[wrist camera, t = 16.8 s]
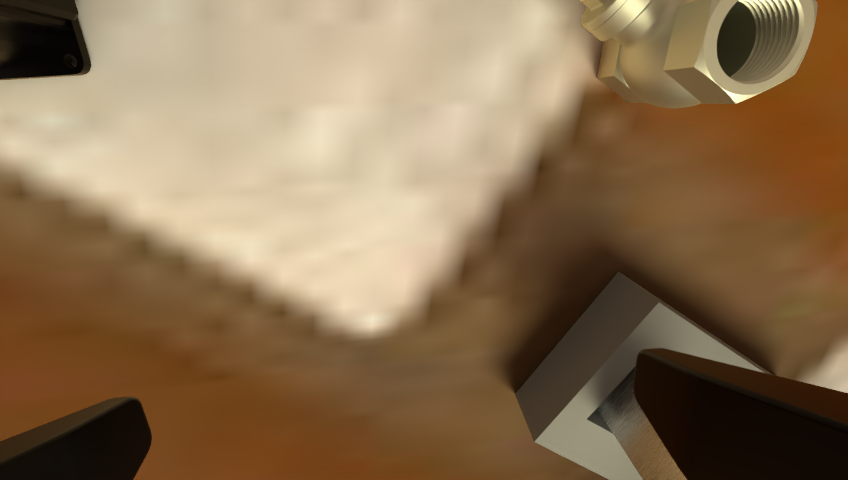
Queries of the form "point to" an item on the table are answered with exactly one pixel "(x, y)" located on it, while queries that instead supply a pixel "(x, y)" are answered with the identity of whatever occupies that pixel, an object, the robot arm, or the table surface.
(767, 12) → the valve
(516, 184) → the table surface
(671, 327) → the bore block
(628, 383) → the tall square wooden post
